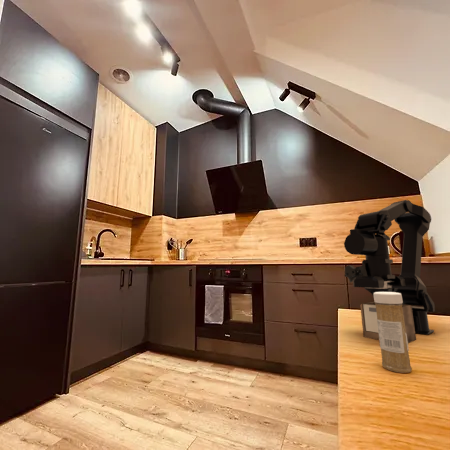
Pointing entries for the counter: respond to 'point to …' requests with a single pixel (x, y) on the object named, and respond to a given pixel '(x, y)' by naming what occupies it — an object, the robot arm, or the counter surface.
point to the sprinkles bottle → (392, 332)
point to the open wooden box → (407, 320)
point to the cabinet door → (370, 318)
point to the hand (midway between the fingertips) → (383, 314)
